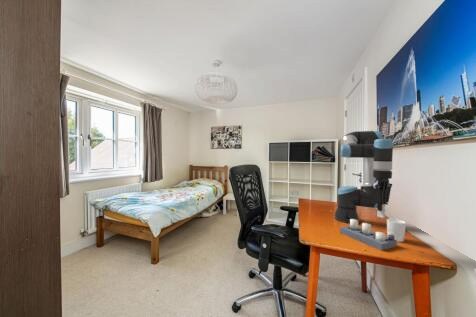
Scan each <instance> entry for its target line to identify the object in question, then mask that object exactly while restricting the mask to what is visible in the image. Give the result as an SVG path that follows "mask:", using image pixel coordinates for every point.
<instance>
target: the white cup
mask: <svg viewBox="0 0 476 317" xmlns="http://www.w3.org/2000/svg"><path fill="white" fill-rule="evenodd" d="M406 226H407V223H406V221H404V220H401V219H396V218H386V233H387V236H388V235H390V233H392V235H393V236H394V239H395V240H397V242H398V243H399V242H400V243H403V242H404V241H405V234H406Z"/></svg>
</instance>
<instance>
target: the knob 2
mask: <svg viewBox="0 0 476 317" xmlns="http://www.w3.org/2000/svg"><path fill="white" fill-rule="evenodd" d="M375 233H376V239H377V240H380V241H382V242H384V241H385V239H386V237H387V236H386V233H385V232H382V231H375Z"/></svg>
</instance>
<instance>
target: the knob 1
mask: <svg viewBox="0 0 476 317" xmlns="http://www.w3.org/2000/svg"><path fill="white" fill-rule="evenodd" d="M349 226H350V229H352V230H358V227H359V223H358V220H356V219H350V223H349Z"/></svg>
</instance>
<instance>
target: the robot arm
mask: <svg viewBox="0 0 476 317" xmlns="http://www.w3.org/2000/svg"><path fill="white" fill-rule="evenodd" d="M393 142H394V141H393V139H391V138H383V134H382V132H381V131H380V130H365V131H364V130H363V131H362V130H361V131H360V130H359V131H357V130H355V131H352V132H348V133H346V134H345V135H343V137H342V139H341V144H342V145H341V146H340V156H341V158H348V159H349V158H353V159H356V158H358V159H359V158H360V159H362V185H360V188H358V186H354V185H353V186H352V185H349V186H348V185H347V186H344V185H343V186H339V188H338V190H337V208H336V210H335V213H334V219H335V220H336V221H338V222H341V223H342V222H343V223H347V224H350V219H356V220H358V224H359V222H360V217H359V213H358V211H357V210H358V209H357V208H358V207H361V208H371V209H376V210H377V212H376V215H377V216H376V217H379V218H381V219H384V218H386V205H389V201H390V195H391V191H392V190H391V189H392V186H393V184H392V183H390V179H392V177H393V172H392V170H393V152H394V150H393V149H394V144H393Z"/></svg>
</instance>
